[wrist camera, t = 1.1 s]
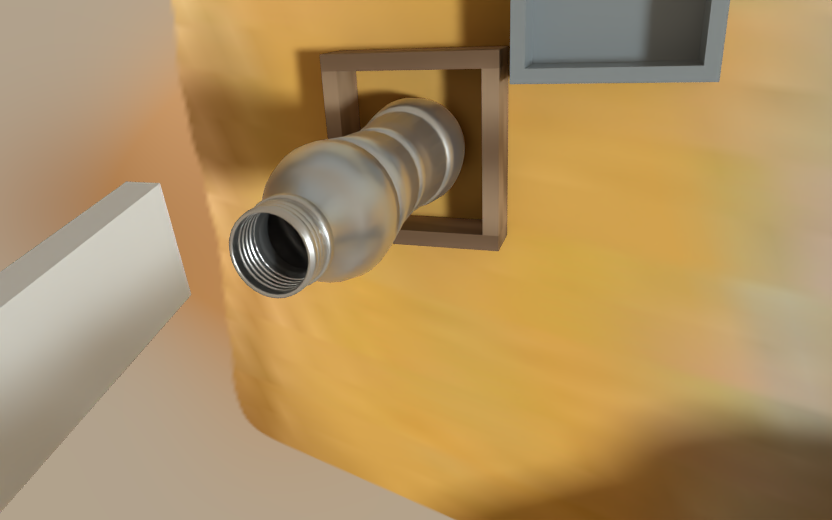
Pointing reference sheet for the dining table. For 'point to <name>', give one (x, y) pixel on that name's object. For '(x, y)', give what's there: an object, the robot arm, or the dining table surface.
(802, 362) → the dining table surface
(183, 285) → the robot arm
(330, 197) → the silver metal bottle
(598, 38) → the grey tray
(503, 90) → the walnut collar
